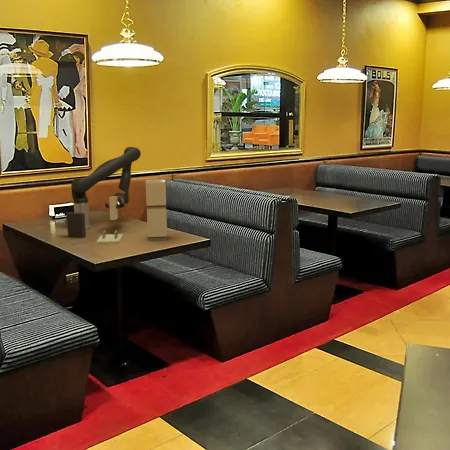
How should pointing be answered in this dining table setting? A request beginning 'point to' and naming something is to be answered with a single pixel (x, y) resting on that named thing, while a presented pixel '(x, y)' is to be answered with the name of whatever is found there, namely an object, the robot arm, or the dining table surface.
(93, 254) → the dining table surface
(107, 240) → the pin tray
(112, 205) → the block
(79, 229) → the dark brown upright block
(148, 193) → the beige rectangular tower
